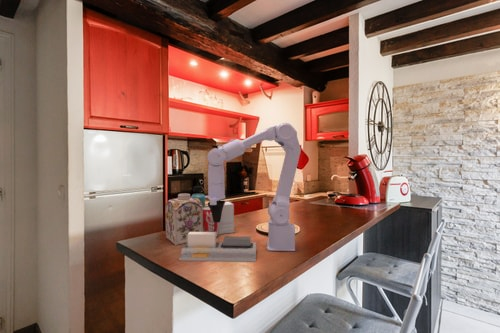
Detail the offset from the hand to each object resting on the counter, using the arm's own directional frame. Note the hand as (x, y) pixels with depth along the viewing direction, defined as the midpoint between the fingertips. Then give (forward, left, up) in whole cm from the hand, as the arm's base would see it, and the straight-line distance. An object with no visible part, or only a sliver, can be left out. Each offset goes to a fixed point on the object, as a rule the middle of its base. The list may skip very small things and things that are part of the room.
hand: (217, 221), depth 90 cm
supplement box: (+1, -22, -10) cm, 25 cm away
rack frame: (-2, +4, -10) cm, 11 cm away
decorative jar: (+15, -12, -10) cm, 22 cm away
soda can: (+6, -14, -10) cm, 18 cm away
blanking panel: (+4, +4, -9) cm, 11 cm away
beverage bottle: (+12, -23, -10) cm, 28 cm away
